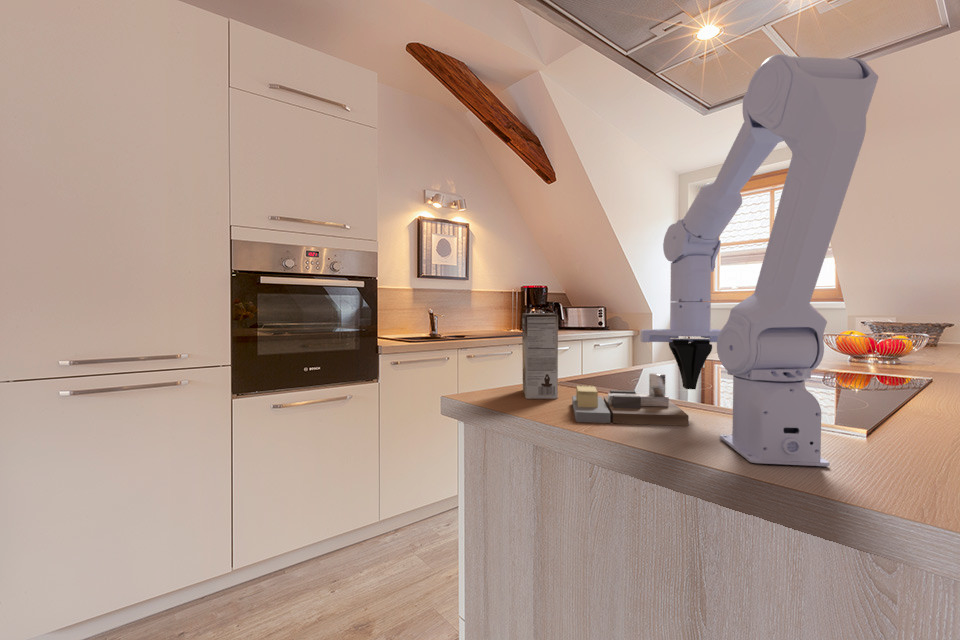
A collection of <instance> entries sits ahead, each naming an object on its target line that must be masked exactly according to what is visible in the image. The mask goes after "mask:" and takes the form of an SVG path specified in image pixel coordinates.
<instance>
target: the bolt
mask: <svg viewBox="0 0 960 640" xmlns="http://www.w3.org/2000/svg"><path fill="white" fill-rule="evenodd" d="M648 381H649V382H648V385H649V386H648V393H636V394H622V393H610V392H608V393H607V397H608V403H609V405H613V395H622V396H640V397H641V406H664V407H669V400H670V398H669V397H670V396H668V395H666V374H665V373H660V372H659V373H657V372H653V373H649V375H648Z"/></svg>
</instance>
